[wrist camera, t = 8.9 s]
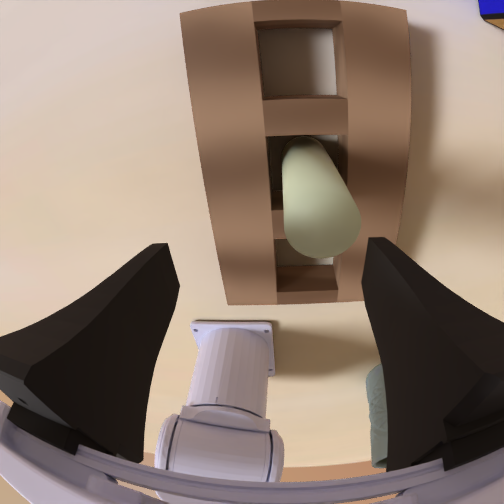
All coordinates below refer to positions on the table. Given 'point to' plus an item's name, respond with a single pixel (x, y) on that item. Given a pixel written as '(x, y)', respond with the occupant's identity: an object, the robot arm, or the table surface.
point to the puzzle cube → (492, 11)
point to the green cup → (377, 416)
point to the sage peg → (316, 201)
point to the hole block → (297, 123)
